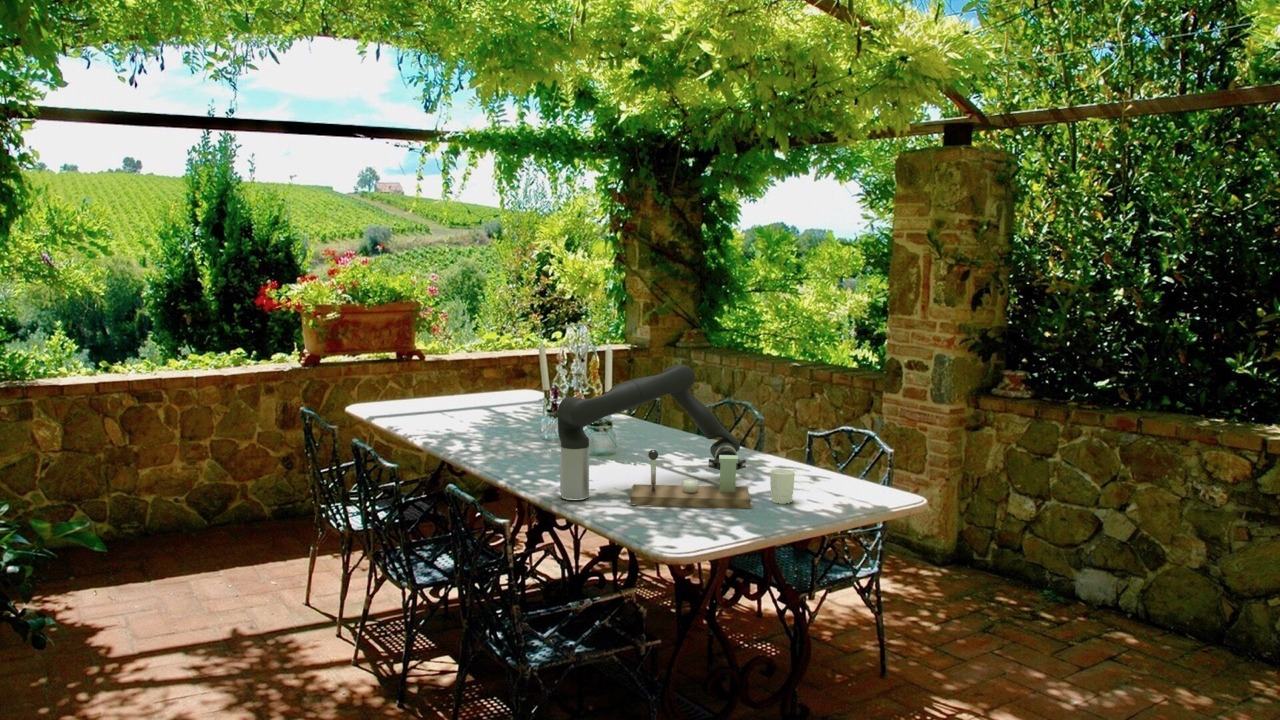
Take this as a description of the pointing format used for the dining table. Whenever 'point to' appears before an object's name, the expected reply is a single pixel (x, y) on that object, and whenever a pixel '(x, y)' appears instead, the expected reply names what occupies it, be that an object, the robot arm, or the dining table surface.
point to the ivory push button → (690, 486)
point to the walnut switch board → (690, 497)
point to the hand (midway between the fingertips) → (728, 469)
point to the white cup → (782, 485)
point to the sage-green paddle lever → (728, 472)
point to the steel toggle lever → (653, 468)
